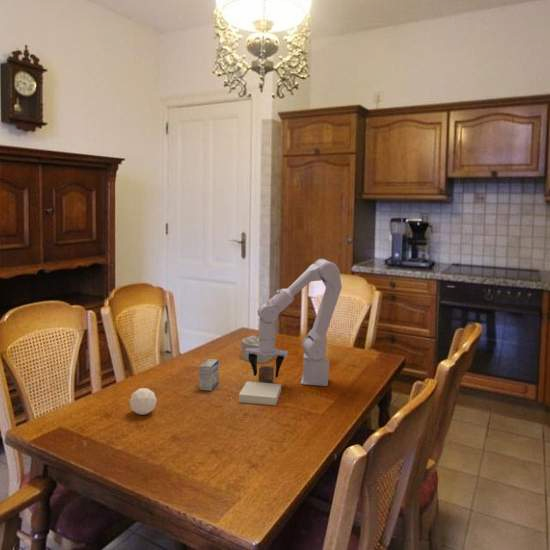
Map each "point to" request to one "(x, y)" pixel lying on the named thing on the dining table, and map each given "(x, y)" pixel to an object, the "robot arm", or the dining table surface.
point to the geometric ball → (143, 401)
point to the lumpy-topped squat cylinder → (253, 343)
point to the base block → (260, 393)
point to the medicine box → (209, 374)
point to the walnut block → (266, 374)
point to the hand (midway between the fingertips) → (266, 375)
